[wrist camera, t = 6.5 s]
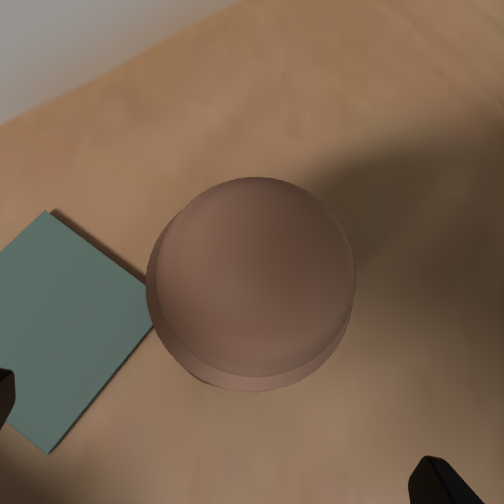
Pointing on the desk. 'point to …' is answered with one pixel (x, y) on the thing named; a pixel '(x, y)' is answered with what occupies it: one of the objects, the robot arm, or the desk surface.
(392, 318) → the desk surface
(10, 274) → the tile
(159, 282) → the terracotta pawn
